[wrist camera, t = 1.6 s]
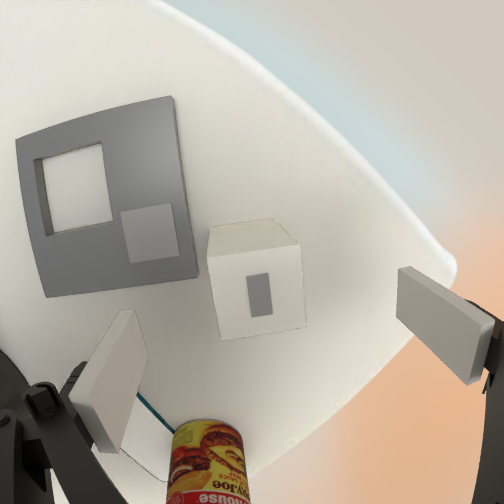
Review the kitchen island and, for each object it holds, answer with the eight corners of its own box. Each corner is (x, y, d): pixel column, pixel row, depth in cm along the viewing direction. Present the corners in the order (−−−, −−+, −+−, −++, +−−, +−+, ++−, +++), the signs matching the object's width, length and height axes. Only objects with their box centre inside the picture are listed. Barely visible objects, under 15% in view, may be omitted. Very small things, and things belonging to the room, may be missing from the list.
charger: (219, 286, 27) (221, 342, 18) (210, 226, 26) (206, 259, 17) (278, 277, 27) (307, 328, 18) (272, 218, 26) (301, 245, 17)
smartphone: (213, 463, 33) (129, 378, 29) (213, 469, 32) (127, 384, 28) (163, 478, 34) (77, 400, 29) (162, 483, 33) (75, 405, 28)
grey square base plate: (53, 291, 25) (45, 298, 24) (24, 140, 22) (14, 139, 20) (198, 271, 26) (197, 278, 25) (173, 99, 23) (170, 94, 21)
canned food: (255, 446, 32) (270, 531, 21) (201, 468, 33) (202, 548, 21) (214, 408, 30) (217, 504, 19) (158, 434, 31) (145, 522, 19)
